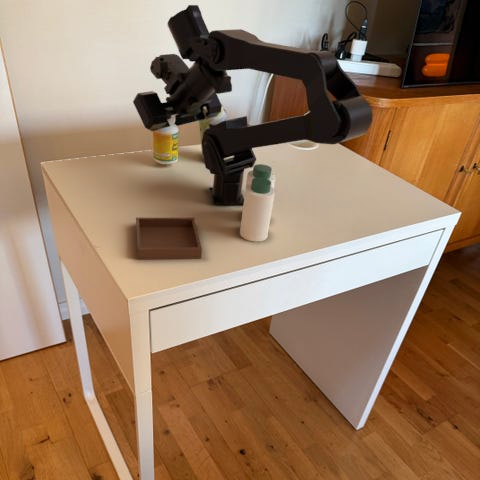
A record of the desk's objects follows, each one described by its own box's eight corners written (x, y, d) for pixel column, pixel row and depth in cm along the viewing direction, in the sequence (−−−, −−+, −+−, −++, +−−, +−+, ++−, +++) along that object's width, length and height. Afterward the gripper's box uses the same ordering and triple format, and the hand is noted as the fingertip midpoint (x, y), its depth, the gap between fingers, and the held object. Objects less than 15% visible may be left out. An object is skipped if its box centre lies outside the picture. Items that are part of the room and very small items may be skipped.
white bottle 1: (239, 212, 87) (245, 161, 81) (264, 212, 88) (272, 162, 82) (244, 225, 83) (251, 173, 77) (270, 225, 85) (280, 174, 78)
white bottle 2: (237, 227, 83) (243, 174, 76) (263, 227, 84) (272, 175, 77) (242, 241, 79) (250, 188, 73) (270, 241, 80) (280, 188, 74)
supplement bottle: (156, 153, 102) (155, 108, 95) (180, 157, 102) (181, 112, 95) (150, 162, 98) (149, 116, 91) (175, 166, 97) (175, 120, 91)
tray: (136, 227, 79) (135, 217, 77) (193, 227, 81) (194, 217, 80) (138, 259, 71) (137, 249, 70) (201, 258, 74) (201, 248, 72)
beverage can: (232, 163, 105) (238, 108, 97) (204, 166, 101) (207, 110, 93) (219, 152, 108) (223, 99, 101) (191, 156, 105) (194, 100, 97)
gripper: (216, 39, 88) (178, 85, 101) (137, 44, 77) (105, 95, 89) (241, 93, 89) (200, 133, 102) (166, 106, 78) (131, 148, 91)
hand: (161, 126), depth 96 cm, fingers closed on supplement bottle, 5 cm apart
